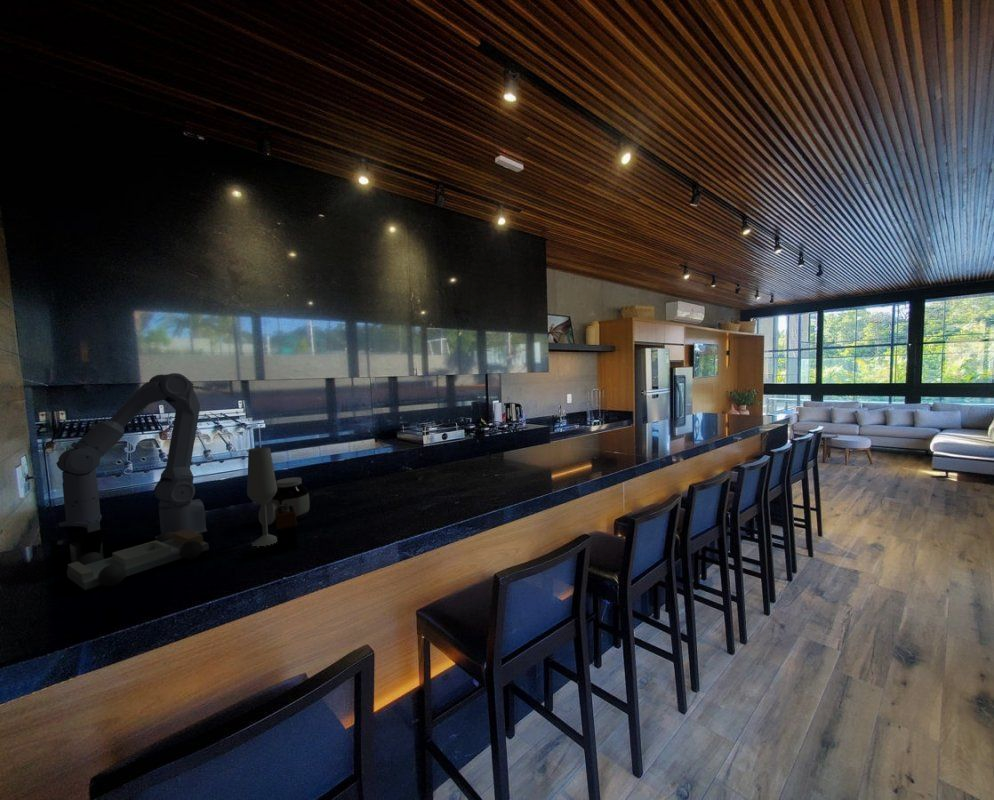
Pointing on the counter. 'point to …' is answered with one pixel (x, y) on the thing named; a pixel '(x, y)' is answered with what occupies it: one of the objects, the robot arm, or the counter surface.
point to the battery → (286, 527)
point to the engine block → (78, 552)
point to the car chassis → (135, 559)
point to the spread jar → (288, 499)
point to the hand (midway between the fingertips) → (87, 556)
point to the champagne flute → (261, 487)
